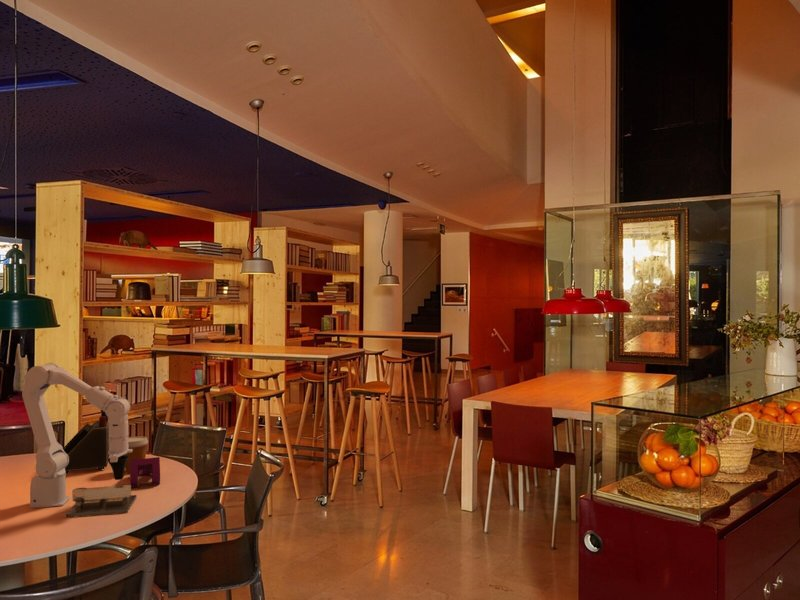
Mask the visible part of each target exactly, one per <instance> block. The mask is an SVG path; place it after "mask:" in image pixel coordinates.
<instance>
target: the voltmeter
mask: <svg viewBox="0 0 800 600" xmlns="http://www.w3.org/2000/svg"><path fill="white" fill-rule="evenodd" d="M62 448H63V450H64V452H65V453H66V454H67V455H68V457H69V463H68V465H67V466H66V467H65V471H66V473H67V474H69V473H70V471H77V470H78V471H79V470H89V469H90V470H91V469H97V471H103V470H102V469H104V470H105V468H107V467H108V463H109V462H108V459H109V458H110V456H109V454H108V451H109V418H108V416H107V415H106V413H105V411H101V413H100V416H99V420H95V421H94V422H93V423H92V424H89V423H88V422H87V423H86V424H85V425H84V426H82V428H81V429H79V431H78V432H76V434H74V436H73V437H72V438H71V439H70V440H69V441H68V442H67V443H66V444H65V446H64V447H62ZM68 472H69V473H68Z"/></svg>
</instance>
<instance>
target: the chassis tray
mask: <svg viewBox="0 0 800 600" xmlns="http://www.w3.org/2000/svg"><path fill="white" fill-rule="evenodd" d="M136 500H137V494H131V495H130V497H122V498H108V499H94V500H83V501H74V502H75V504H73V506H72V507H71V508H69V510H68V511H67V512H66V513H65V518H75V517H74V516H79V517H88V516H87V515H92V516H100V514H105V515H112V514H111V513H118V514H126V513H125V512H127V513H128V512H129V511H130V509H131V508H130V507H132V506H133V504H134V503H135V501H136ZM128 510H129V511H128Z"/></svg>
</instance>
